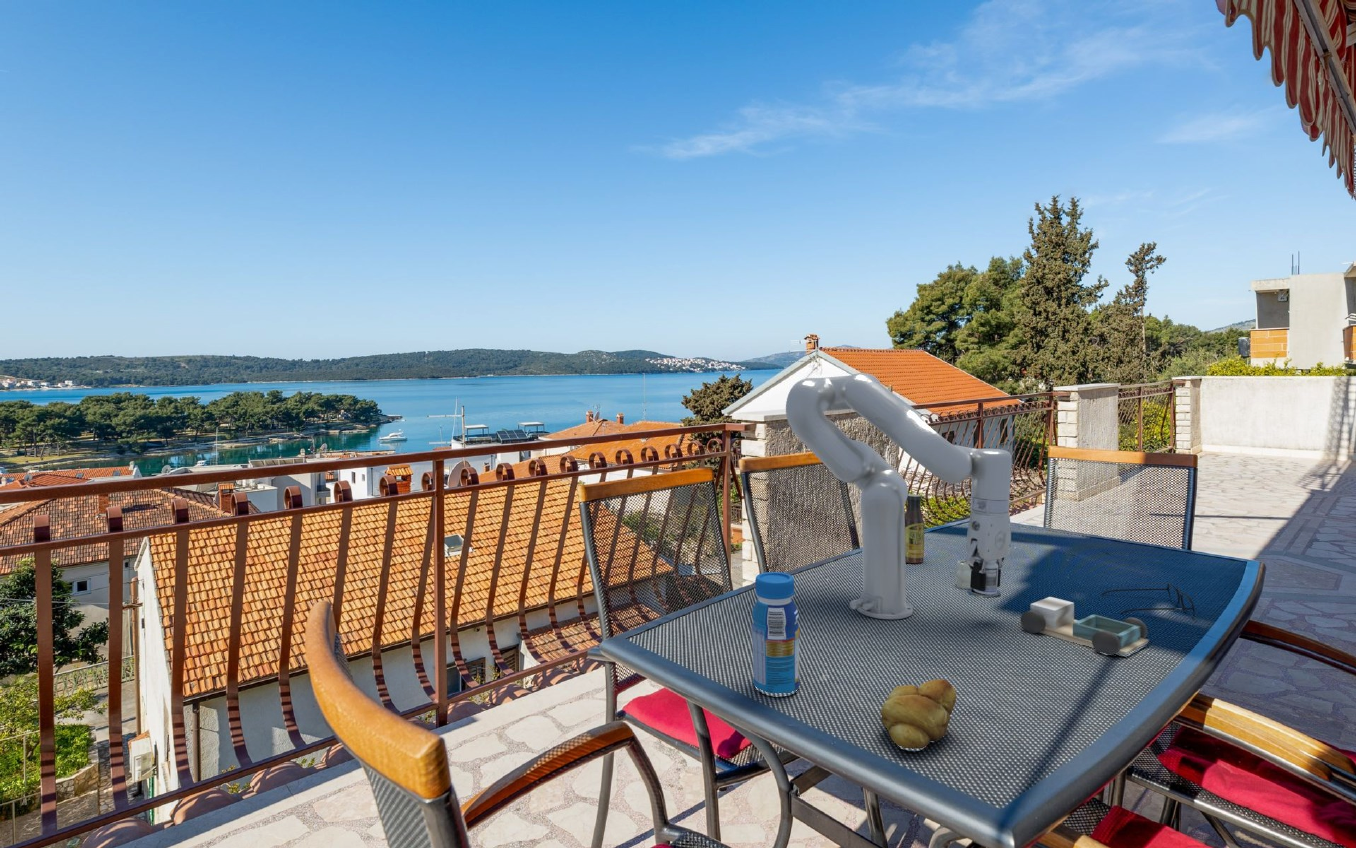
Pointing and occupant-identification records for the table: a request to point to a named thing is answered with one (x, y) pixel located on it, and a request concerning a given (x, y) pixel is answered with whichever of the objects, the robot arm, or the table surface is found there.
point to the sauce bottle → (914, 530)
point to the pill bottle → (990, 577)
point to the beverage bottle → (775, 634)
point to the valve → (963, 575)
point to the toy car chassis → (1084, 627)
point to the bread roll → (918, 713)
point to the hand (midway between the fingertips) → (985, 586)
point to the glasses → (1161, 608)
